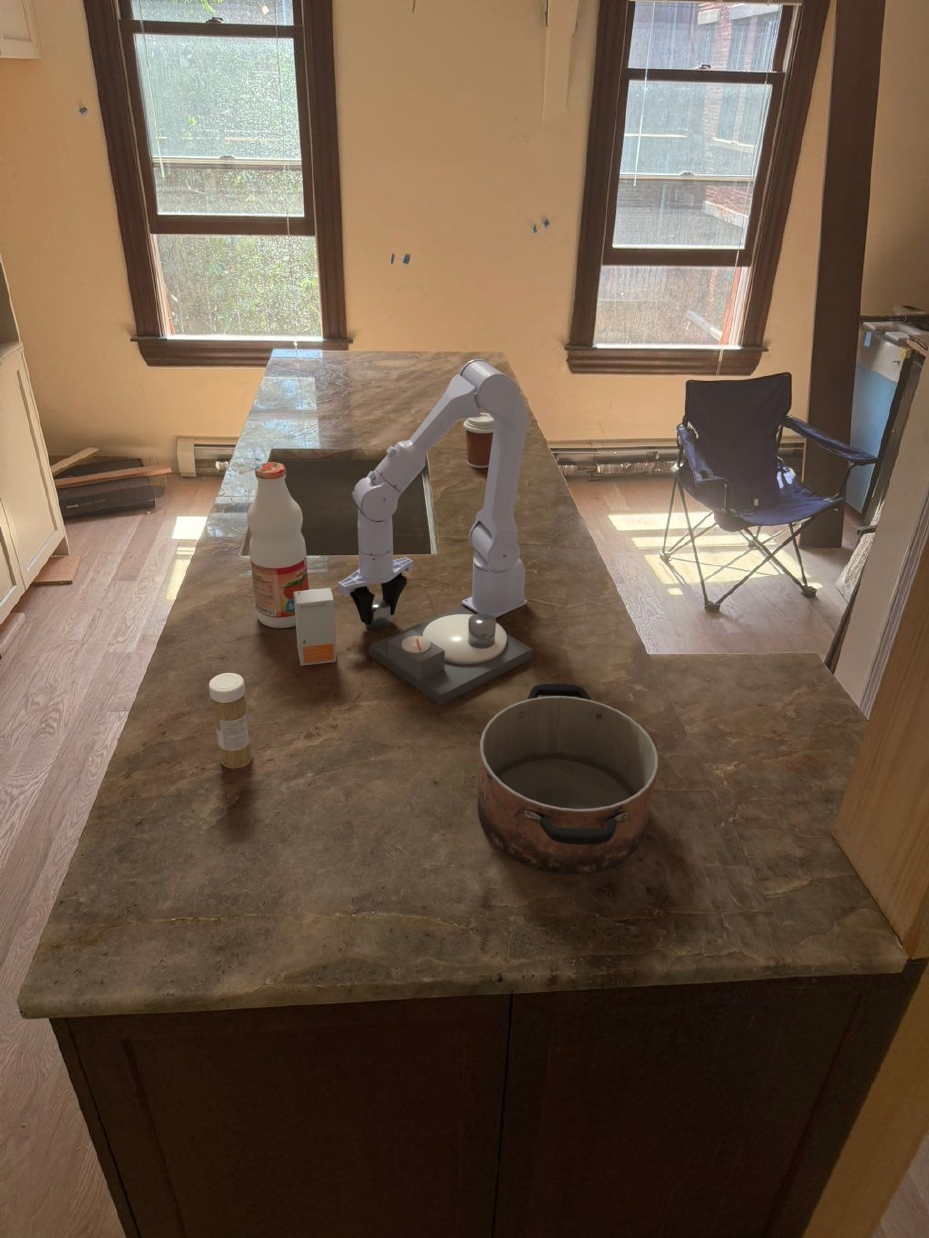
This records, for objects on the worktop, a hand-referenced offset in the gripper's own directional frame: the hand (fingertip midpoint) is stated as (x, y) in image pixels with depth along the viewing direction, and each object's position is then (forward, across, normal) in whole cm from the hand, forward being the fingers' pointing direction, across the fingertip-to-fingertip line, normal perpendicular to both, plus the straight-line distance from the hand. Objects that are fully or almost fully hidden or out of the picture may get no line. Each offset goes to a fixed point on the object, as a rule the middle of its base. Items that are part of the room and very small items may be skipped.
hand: (377, 617), depth 153 cm
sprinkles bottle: (+2, +37, +16) cm, 40 cm away
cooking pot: (+2, +10, +52) cm, 53 cm away
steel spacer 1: (+1, 0, 0) cm, 1 cm away
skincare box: (+2, +14, +2) cm, 14 cm away
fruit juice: (+2, +11, -13) cm, 17 cm away
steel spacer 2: (-2, -7, +19) cm, 20 cm away
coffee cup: (+2, -67, -45) cm, 81 cm away
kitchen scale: (+1, -3, +16) cm, 16 cm away
